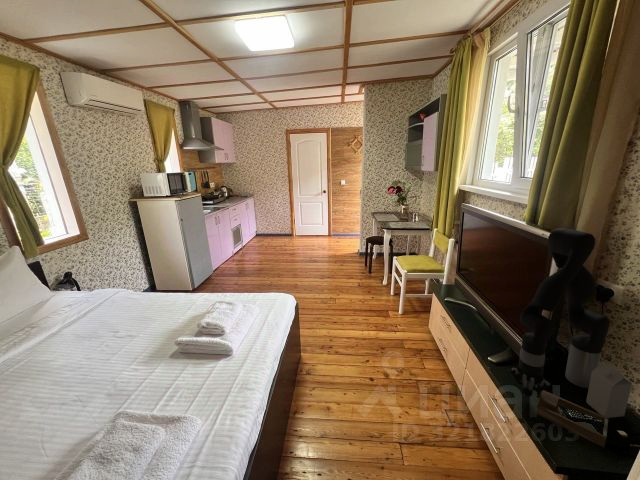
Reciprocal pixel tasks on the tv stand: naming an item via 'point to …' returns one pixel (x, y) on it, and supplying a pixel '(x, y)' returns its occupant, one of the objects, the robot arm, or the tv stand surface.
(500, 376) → the tv stand surface
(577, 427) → the wooden tray
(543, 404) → the walnut block
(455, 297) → the tv stand surface
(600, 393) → the milk carton
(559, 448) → the tv stand surface
